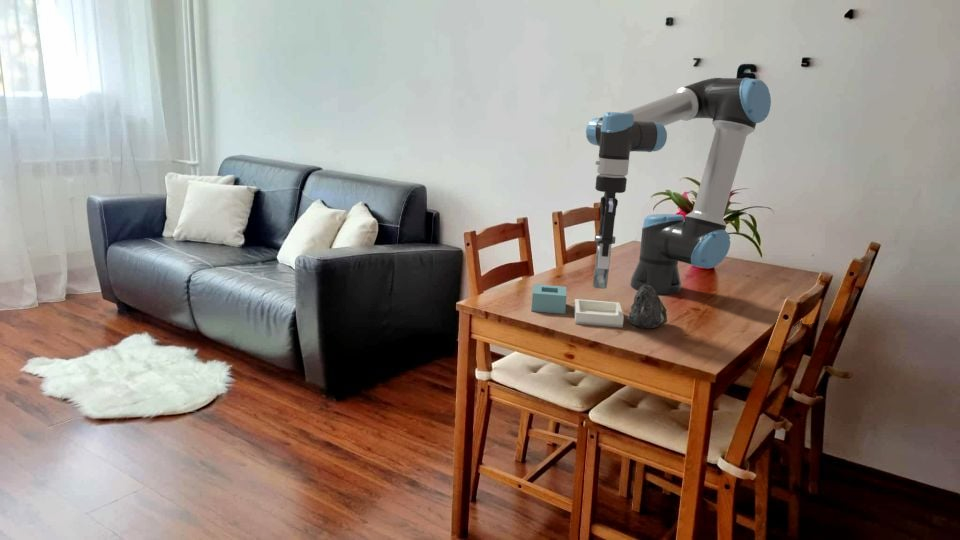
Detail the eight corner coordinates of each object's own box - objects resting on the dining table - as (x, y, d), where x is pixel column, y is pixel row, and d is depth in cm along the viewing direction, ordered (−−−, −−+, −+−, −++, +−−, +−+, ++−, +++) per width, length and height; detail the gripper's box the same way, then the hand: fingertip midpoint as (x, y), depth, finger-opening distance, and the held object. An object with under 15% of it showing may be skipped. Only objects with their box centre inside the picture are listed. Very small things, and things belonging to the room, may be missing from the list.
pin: (609, 284, 178) (614, 235, 175) (610, 290, 173) (616, 239, 170) (589, 283, 179) (594, 233, 175) (590, 288, 174) (595, 237, 170)
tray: (618, 313, 184) (619, 302, 183) (622, 327, 172) (623, 316, 171) (573, 309, 185) (574, 298, 184) (575, 323, 173) (576, 312, 172)
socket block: (564, 303, 189) (566, 286, 188) (565, 313, 180) (566, 295, 179) (532, 301, 190) (533, 284, 189) (531, 311, 181) (532, 293, 180)
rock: (622, 305, 181) (639, 277, 176) (654, 316, 183) (672, 288, 177) (628, 335, 171) (647, 307, 166) (662, 346, 173) (681, 318, 167)
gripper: (594, 170, 178) (586, 256, 184) (599, 178, 160) (589, 273, 166) (623, 172, 177) (613, 258, 183) (631, 180, 159) (620, 275, 165)
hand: (602, 265), depth 174 cm, fingers closed on pin, 5 cm apart
